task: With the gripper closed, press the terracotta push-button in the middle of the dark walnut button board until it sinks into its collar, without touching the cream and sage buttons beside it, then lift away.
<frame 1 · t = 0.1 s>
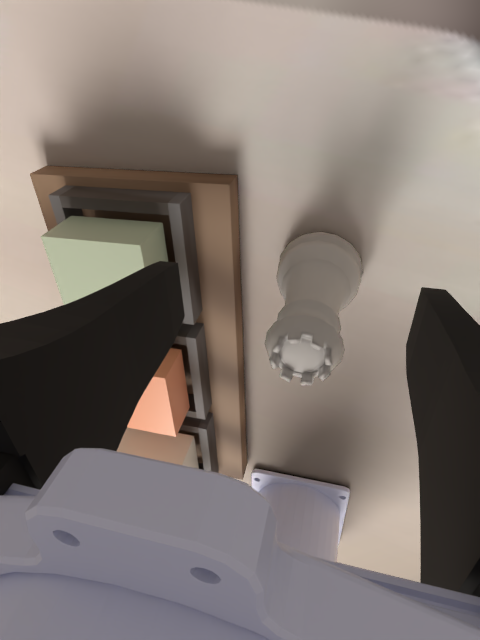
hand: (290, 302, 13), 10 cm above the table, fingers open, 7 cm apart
cream button: (159, 465, 31), point 4 cm above the table, slide at 0.0 cm
button board: (167, 344, 29), on the table
sage button: (114, 275, 21), point 4 cm above the table, slide at 0.0 cm
rook chess piece: (320, 264, 23), on the table
terracotta button: (140, 387, 26), point 4 cm above the table, slide at 0.0 cm
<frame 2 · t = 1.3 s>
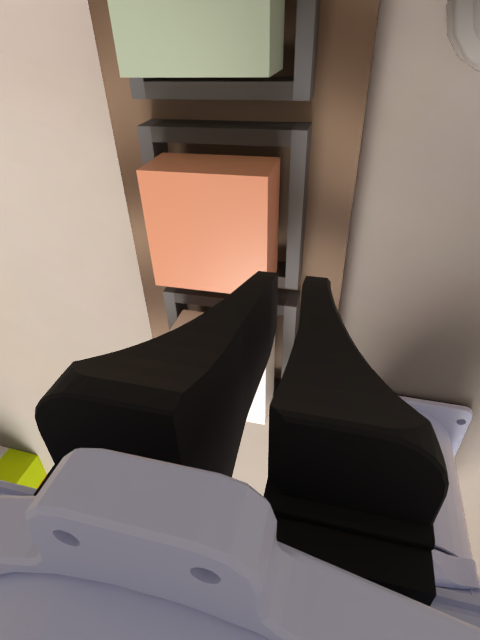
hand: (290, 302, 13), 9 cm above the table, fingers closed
puzzle toy: (12, 470, 46), on the table
cream button: (223, 366, 22), point 4 cm above the table, slide at 0.0 cm
button board: (239, 191, 21), on the table
terracotta button: (214, 225, 17), point 4 cm above the table, slide at 0.0 cm
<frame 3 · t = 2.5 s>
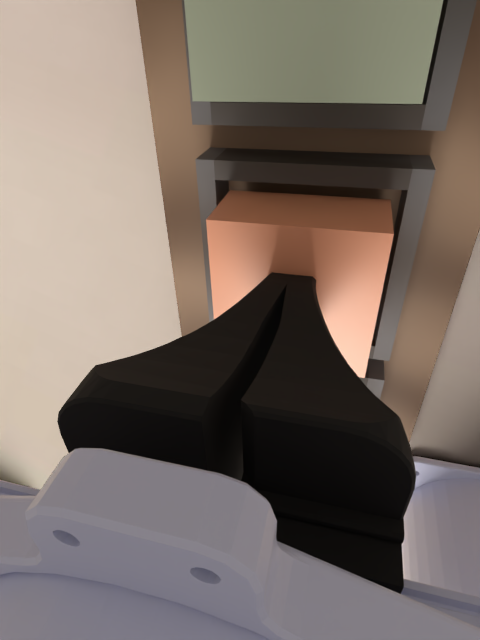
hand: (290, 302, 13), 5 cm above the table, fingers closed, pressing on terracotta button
button board: (311, 233, 17), on the table
terracotta button: (297, 283, 14), point 4 cm above the table, slide at 0.3 cm, touching gripper
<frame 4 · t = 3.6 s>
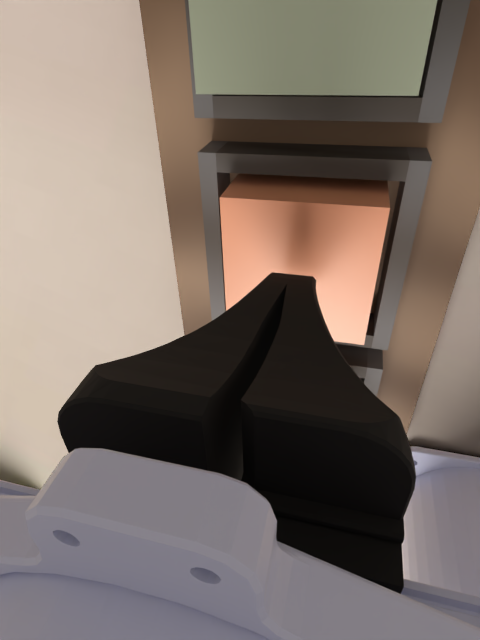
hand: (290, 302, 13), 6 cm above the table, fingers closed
button board: (310, 225, 17), on the table
terracotta button: (301, 258, 15), point 3 cm above the table, slide at 1.4 cm
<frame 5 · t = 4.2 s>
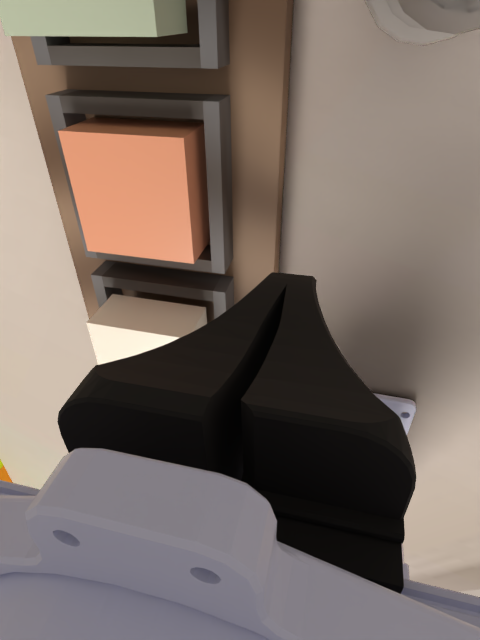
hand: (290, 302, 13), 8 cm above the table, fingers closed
cream button: (154, 354, 21), point 4 cm above the table, slide at 0.0 cm
button board: (169, 170, 20), on the table
terracotta button: (143, 190, 18), point 3 cm above the table, slide at 1.4 cm
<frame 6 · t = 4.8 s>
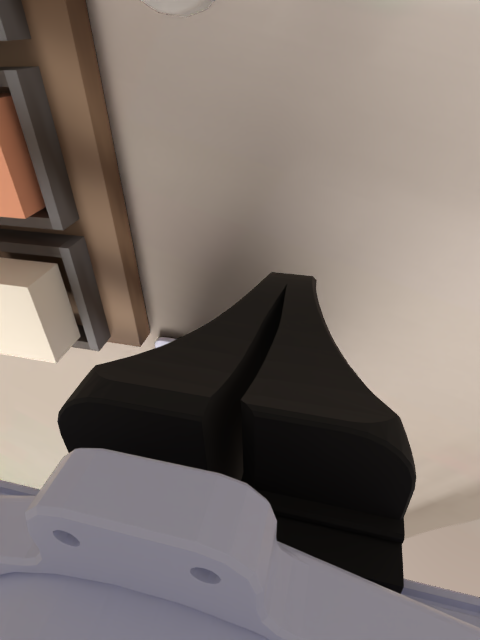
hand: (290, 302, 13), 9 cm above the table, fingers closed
cream button: (18, 309, 24), point 4 cm above the table, slide at 0.0 cm
button board: (19, 140, 22), on the table
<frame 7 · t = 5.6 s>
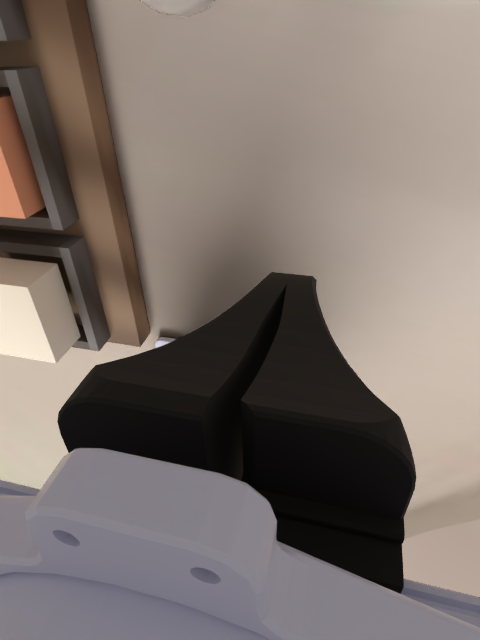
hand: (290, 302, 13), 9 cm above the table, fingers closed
cream button: (18, 309, 24), point 4 cm above the table, slide at 0.0 cm
button board: (19, 140, 22), on the table
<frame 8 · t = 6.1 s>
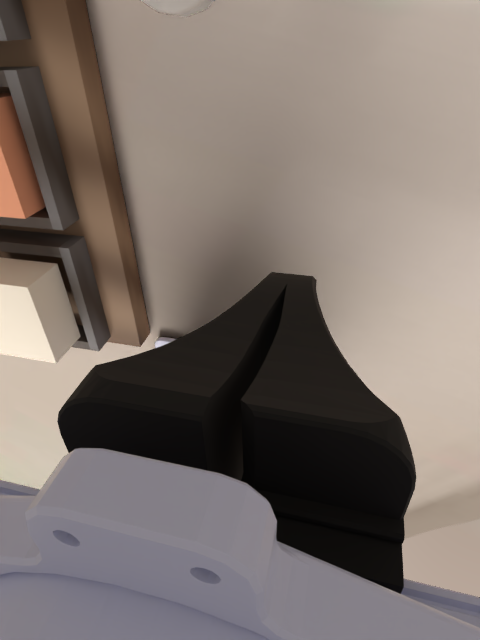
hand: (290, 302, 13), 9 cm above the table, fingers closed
cream button: (18, 309, 24), point 4 cm above the table, slide at 0.0 cm
button board: (19, 140, 22), on the table
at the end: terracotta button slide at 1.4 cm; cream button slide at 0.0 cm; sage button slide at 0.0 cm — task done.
